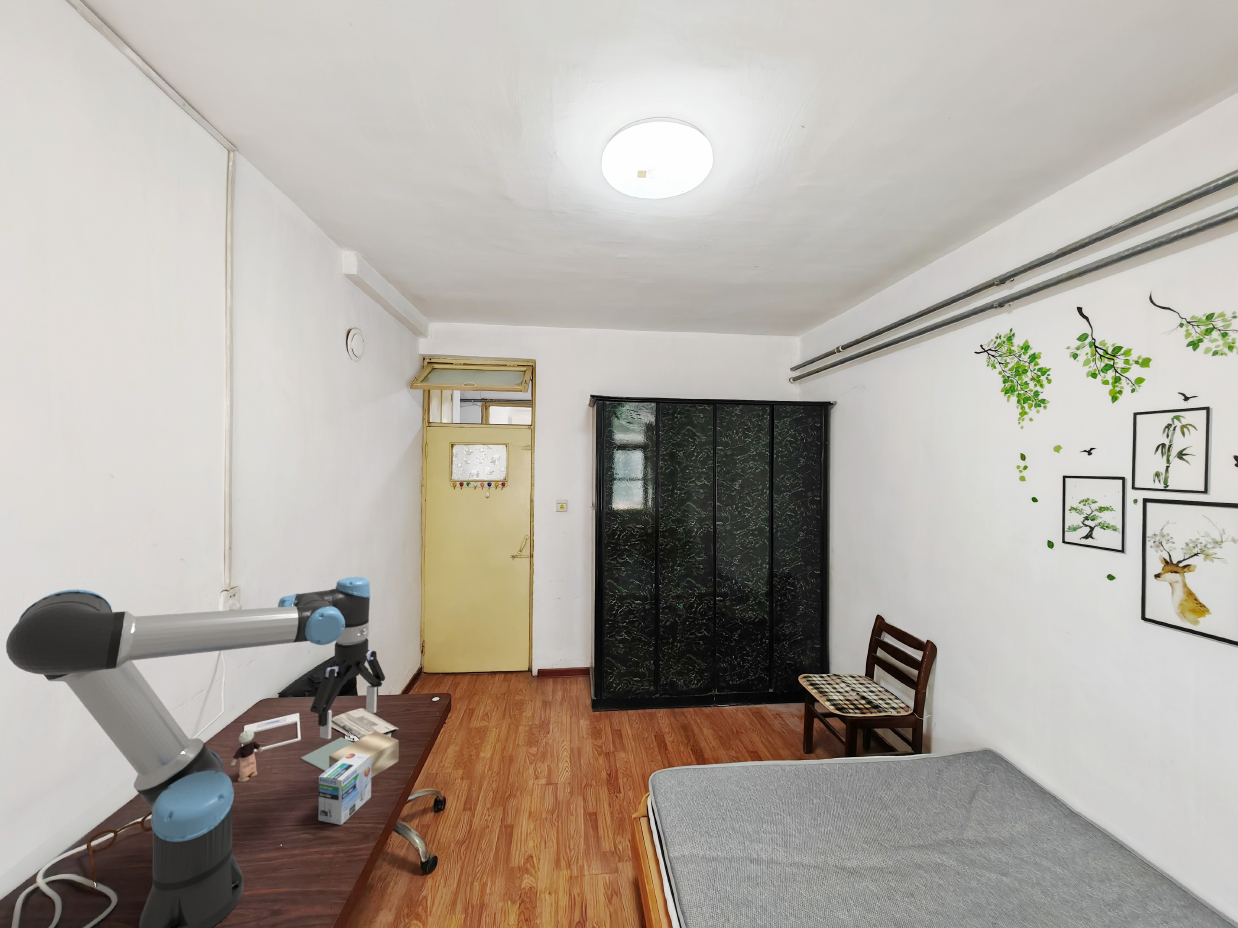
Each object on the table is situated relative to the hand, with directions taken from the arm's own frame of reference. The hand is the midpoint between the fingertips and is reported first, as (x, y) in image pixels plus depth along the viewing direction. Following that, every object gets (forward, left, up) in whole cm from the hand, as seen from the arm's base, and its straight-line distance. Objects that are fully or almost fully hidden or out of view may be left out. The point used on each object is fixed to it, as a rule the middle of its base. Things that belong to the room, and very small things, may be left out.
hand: (349, 723), depth 126 cm
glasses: (-33, +25, -20) cm, 46 cm away
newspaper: (+23, +28, -20) cm, 41 cm away
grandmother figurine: (-8, +32, -20) cm, 38 cm away
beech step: (+10, +8, -19) cm, 23 cm away
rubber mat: (+10, +21, -19) cm, 30 cm away
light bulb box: (-2, -2, -20) cm, 20 cm away
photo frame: (+7, +49, -20) cm, 53 cm away
